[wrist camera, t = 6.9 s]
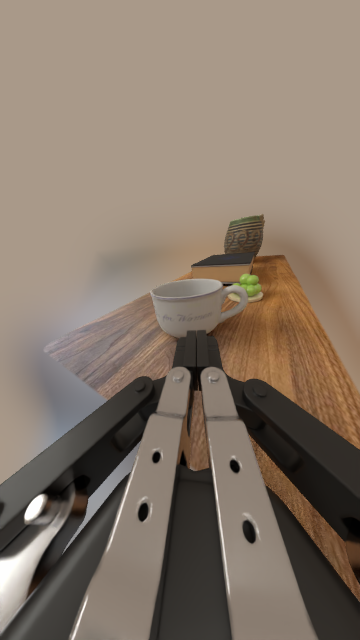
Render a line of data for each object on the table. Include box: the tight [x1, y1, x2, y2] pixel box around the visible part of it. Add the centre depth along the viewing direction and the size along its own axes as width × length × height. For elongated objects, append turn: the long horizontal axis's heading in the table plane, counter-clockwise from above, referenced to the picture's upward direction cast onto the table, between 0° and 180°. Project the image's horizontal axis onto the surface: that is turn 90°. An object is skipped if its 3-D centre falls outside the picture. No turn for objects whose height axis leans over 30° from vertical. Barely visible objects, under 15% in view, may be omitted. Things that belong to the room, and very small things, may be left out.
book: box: [191, 252, 255, 284], centre depth 50 cm, size 17×25×7 cm
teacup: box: [150, 279, 248, 339], centre depth 21 cm, size 14×11×8 cm
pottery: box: [224, 214, 265, 260], centre depth 68 cm, size 18×18×20 cm
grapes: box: [227, 274, 263, 302], centre depth 32 cm, size 8×8×5 cm
